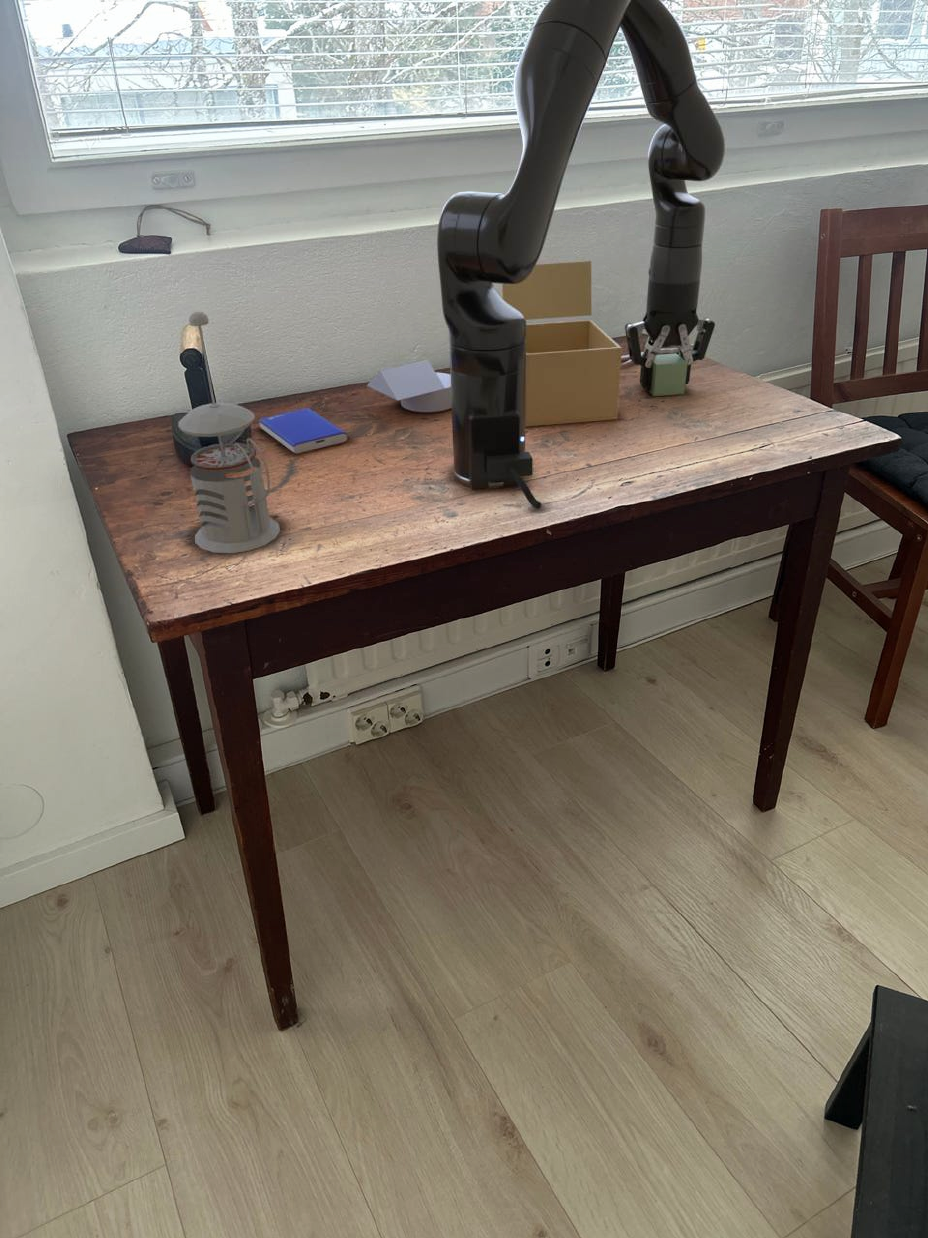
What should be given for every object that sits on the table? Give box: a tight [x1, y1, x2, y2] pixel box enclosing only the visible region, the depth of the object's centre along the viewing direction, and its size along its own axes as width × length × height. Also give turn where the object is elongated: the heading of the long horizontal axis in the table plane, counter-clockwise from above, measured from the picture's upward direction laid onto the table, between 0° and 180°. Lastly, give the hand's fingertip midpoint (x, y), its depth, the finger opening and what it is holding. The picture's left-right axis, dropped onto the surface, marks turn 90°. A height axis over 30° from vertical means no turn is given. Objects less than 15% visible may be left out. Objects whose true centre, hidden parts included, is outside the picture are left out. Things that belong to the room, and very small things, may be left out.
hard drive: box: [258, 407, 348, 455], centre depth 129 cm, size 2×8×12 cm
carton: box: [525, 319, 623, 428], centre depth 135 cm, size 16×14×10 cm
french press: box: [177, 311, 281, 554], centre depth 96 cm, size 10×12×25 cm
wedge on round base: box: [366, 359, 452, 413], centre depth 138 cm, size 9×7×13 cm
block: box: [648, 352, 687, 397], centre depth 141 cm, size 5×5×5 cm
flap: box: [501, 260, 592, 321], centre depth 137 cm, size 8×14×1 cm
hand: (664, 387), depth 142 cm, fingers closed on block, 5 cm apart
